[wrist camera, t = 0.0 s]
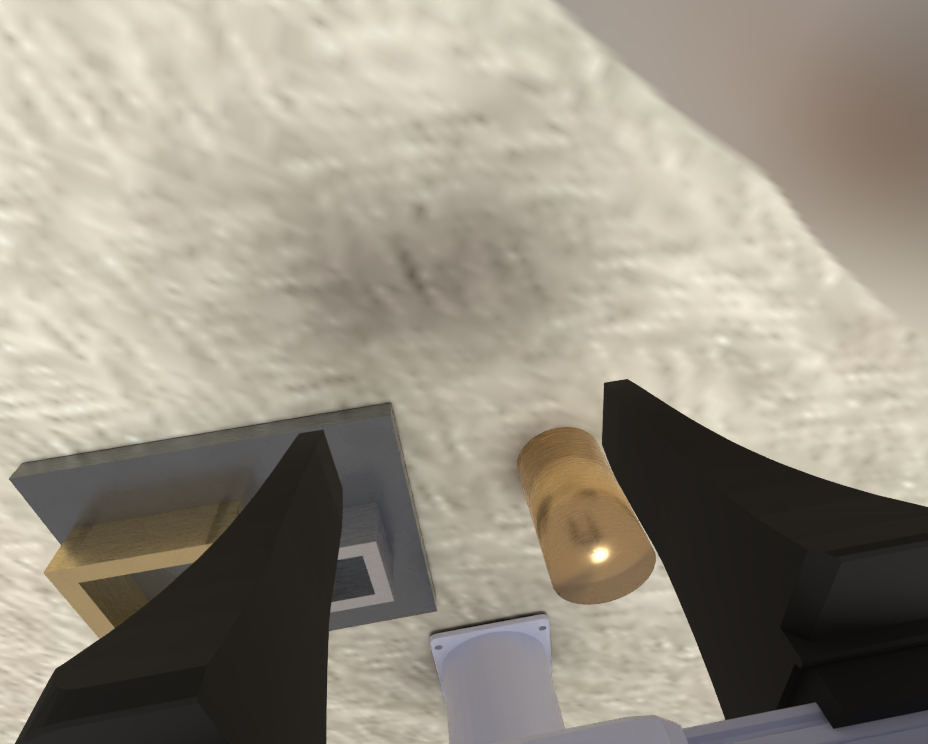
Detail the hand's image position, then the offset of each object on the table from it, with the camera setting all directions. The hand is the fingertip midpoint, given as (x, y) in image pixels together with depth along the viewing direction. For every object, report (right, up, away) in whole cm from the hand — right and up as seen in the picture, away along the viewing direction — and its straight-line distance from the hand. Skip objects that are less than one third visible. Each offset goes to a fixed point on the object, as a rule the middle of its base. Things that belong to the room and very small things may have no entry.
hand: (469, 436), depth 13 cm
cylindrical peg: (+5, -3, +15) cm, 16 cm away
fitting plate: (-11, -7, +15) cm, 20 cm away
